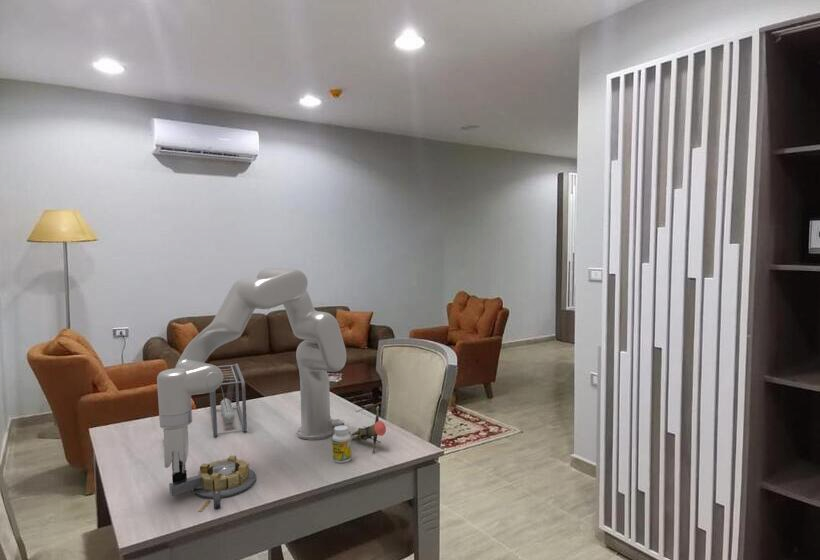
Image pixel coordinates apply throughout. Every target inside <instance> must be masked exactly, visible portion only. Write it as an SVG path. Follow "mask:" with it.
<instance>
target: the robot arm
mask: <svg viewBox="0 0 820 560" xmlns="http://www.w3.org/2000/svg"><path fill="white" fill-rule="evenodd" d="M307 289H308V279H307V275H306V274H305V273H304V272H303V271H301V270H300V269H295V268H282V267H281V268H280V267H279V268H278V267H267V268H264V269H261V270H260V271H259V272H258V273H257V276H256V278H255V277H253V278H252V277H250V278H249V277H246V278H245V277H244V278H240V279H237V280H236V281H235V282H234V283H233V285H232V286H231V288H230V290H229V291H228V292H227V294H226V297H225V298H224V300H223V302H222V304H221V306H220V308H219V310H218V311H217V312H216V314H215V316H214V318H213V320H212V321H211V322H210V324H209V325H207V326H206V327H205V328H203V329H202V330H201V331H200V332H199V333H198V334H197V335H196V336H195V337H193V338H192V340H190V342H188V344H187V345H186V347H185V348H184V349H183V351H182V353H181V355H180V357H179V358H178V361H177V363H176V365H175V367H174V368H169V369H165V370H162V371H160V372H159V373H158V374H157V377H156V383H157V384H156V386H157V398H158V399H157V400H158V401H157V402H158V413H159V414H158V415H159V416H158V417H159V428H161V429H163V452H164V454H163V455H164V467H165V469H168V468H169V467H170V466H171V469H172V474H171V477H172V483H174V482H177V481H180V480H184V479H187V478H188V477H187V469H186V468H187V467H186V463H187V460H188V454H189V425H191V424H192V422H193V411H192V396H194V395H203V394H210V392H212V391H214V390H215V391H216V390H218V389H219V388H221V386H222V385H221V384H222V383H223V381H224V378H223V377H224V372H223V371H222V369H221V368H220V367H217V366H216V365H214V364H212V363H207V362H206V361H207V360H208V358H209V357H210V355H211V354H212V353H214V351H215V350H216V349H218V348H219V347H221V346H223V345H225V344H228V343H231V342H233V341H235V340H237V339H238V338H240V337H241V336H242V334H243V333H244V331H245V329H246V326H247V325H248V322H249V320H250V319H251V318H252V315H253V314H254V311H255V309H258V310H270V309H274V308H277V307H279V306H281V305H283V307H284V309H285V312H286V316H287V318H288V322H289V324H290V326H291V327H290V328H291V330H292V333H293V335H294V336H295V337H296V338H297V339H300V340H303V341H301V342H300V343H299V344H298V346H297V348H296V352H295V358H296V364H297V367H298V374H299V385H300V388H299V389H300V390H299V391H300V396H299V397H300V420H301V422H300V423H301V424H300V425H301V426H300V427H299V428H297V430H296V436H297V437H298V438H300V439H304V440H310V441H312V440H314V441H315V440H322V439H327V438H329V437H331V436H333V435H334V434H335V433H334V428H335V427H336V426H342V425H343V426H345V420H341V419H340V418H334V419H333V418H332V416H331V402H330V401H331V399H330V378H329V373H328V372H330V373H335V372H339V371H341V370H343V368H344V367H345V365H346V362H347V349H346V345H345V342H344V339H343V335H342V332H341V327H340V325H339V322H338V319H336V317H335V316H334V315H333V314H331V313H329V312H325V311H320V310H319V311H318V310H316V309H315V307H314V305H313V304H314V303H313V302H312V299H311V297H310V295H309V294H310V293H309V292H308V290H307Z"/></svg>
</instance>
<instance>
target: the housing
mask: <svg viewBox="0 0 820 560" xmlns="http://www.w3.org/2000/svg"><path fill="white" fill-rule="evenodd" d="M213 473H220V476H227V475H230V474H233V473H235V463H234V462H231V461H224V462H220V463H217V464H215V465H214V466H213ZM256 481H257V474H256V471H254V469H251V468H249V478H248V480H247V481H246V482H244V483H243V484H241V485H239V486H237V487H234V488H231V489H227V490H216V491H215V490H214V491H211V490H205V489H202V488H201V487H198V488H195V489H192V490H191V491H192V494H194V496H196V497H198V498H201V499H206V502H204V503H203V505H202V506H201V507H200V508H199V509H198V510H197V513H199V512H200V513H201V512H203V510H205V509H206V507H207V506H208V505H209V504H210V503H211V502H212V500H213V509H214V510H220V509H221V508H222V501H221V500H222V499H225V498H226V499H227V498H231V497H235V496H237V495H240V494H243V493H245V492H246V491H248V490H250V489H251V488H252V487H253V486H255V484H256Z"/></svg>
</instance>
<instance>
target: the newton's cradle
mask: <svg viewBox="0 0 820 560" xmlns="http://www.w3.org/2000/svg"><path fill="white" fill-rule="evenodd" d="M217 367H218V368H224V369H222V370H226V368H225V367H230V369H231V370H229V371H226V373H227V372H228V373H229V372H230V373H229V379H227V381H228V380H229V381H228V382H222V384H221V385H220V388H221V392H222V396H223V399H222V400H221V401H220V405H219V406H220V409H217V397H216V396H217V395H216V394H217V393H216V390H214V391H212V392H210V393H209V409H210V418H211V425H212V432H213V434H212V435H213V436H214V437H217V436H218V435H223V434H230V433H237V432H238V433H239V432H243V433H245V432H247V430H248V427H247V426H248V424H247V398H246V396H247V395H246V382H245V379H244V376H243V373H242V371H241V369H240V366H239V364H238V363H235V364H228V365H218V366H217ZM226 373H225V374H224V373H223V379H224V378H225V376H224V375H227V374H226ZM239 380H240V381H239ZM239 384H241V400H242V406H240V394H239V393H240V390H239V388H240V387H239ZM222 385H228V387H227V389H228V390H227V392H226V395H227V396H228V397H225V395H224V390H223V387H222ZM234 387H235V405H236V407H233V406H232V400H233V397H232V395H233V394H234V390H233V389H234ZM241 407H242V410H241ZM234 409H236V410H237V414H238V417H239V420H240V426H241V428H242V429H239V430H238V429H237V430H231V431H223V432H218V417H217V415H218V414H217V412H218V411H219V412H220V411H221V415H222V419H223V422H225V423H226V424H227V423H232V422H233V421H234V420H235V413H234Z"/></svg>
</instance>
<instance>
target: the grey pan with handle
mask: <svg viewBox="0 0 820 560" xmlns="http://www.w3.org/2000/svg"><path fill="white" fill-rule="evenodd" d="M224 461H231V462H234V463H235V473H233V474H230V475H227V476H220V473H213V466H214V465H215V464H217V463H220V462H224ZM249 469H250V464H249V462H247V461H245V460H243V459H239V458H237V455H229V456H228V457H227V458H226V459H219V460H216V461H213V462H210V463H202V464H200V466H199V471H198V474H197V475H193V476H190V477H187V479H184V480H180V481H177V482H174V483H173V482H170V483H169V484H168V487H169V494H170V495H171V496H172V497H173V496H177V495H178V494H182V493H184V492H187V491H192V489H195V488H198V487H201V488H202V489H205V490H211V491H214V490H215V491H216V490H227V489H231V488H234V487H237V486H239V485H241V484H243V483H244V482H246V481H247V480H248V478H249Z"/></svg>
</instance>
